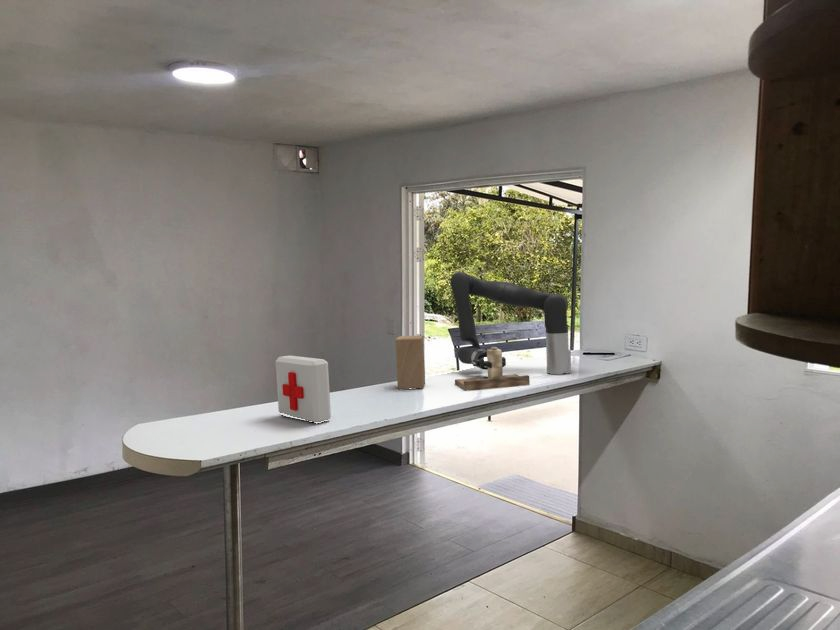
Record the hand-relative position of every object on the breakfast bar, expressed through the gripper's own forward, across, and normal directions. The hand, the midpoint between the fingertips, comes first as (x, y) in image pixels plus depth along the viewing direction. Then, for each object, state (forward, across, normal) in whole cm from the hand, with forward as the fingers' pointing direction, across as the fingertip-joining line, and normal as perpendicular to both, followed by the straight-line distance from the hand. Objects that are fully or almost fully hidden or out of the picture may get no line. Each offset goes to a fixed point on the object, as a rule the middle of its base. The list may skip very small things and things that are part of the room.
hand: (497, 364), depth 254 cm
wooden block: (-15, -31, +9) cm, 35 cm away
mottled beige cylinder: (-3, 0, +6) cm, 7 cm away
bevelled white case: (+23, -76, +9) cm, 80 cm away
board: (-5, -1, +8) cm, 10 cm away
